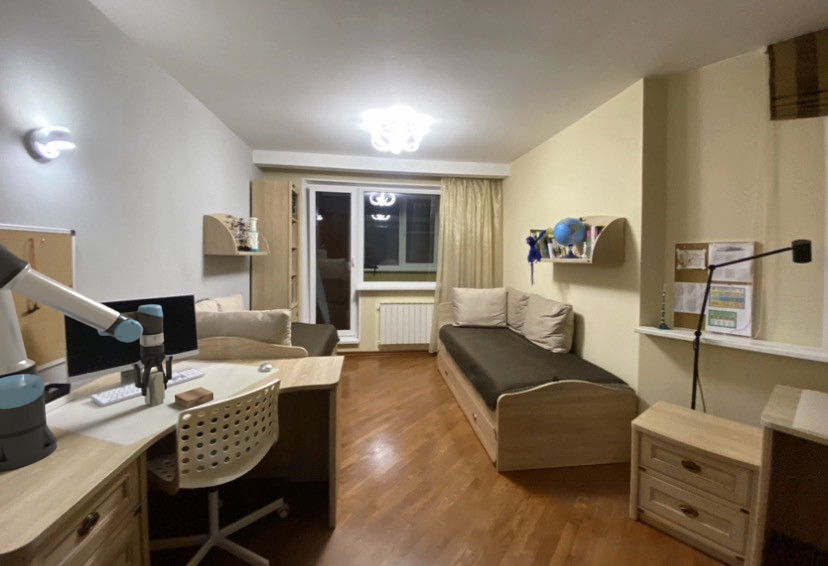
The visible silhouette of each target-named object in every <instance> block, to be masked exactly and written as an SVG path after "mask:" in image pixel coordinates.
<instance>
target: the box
mask: <svg viewBox="0 0 828 566" xmlns="http://www.w3.org/2000/svg"><path fill="white" fill-rule="evenodd" d="M147 387H149V391H150V404H147V403H145V404H146V405H148V406H151V407H155V406H158V405H161V404H163V403H164V400H165V399H164V398H163V372H160V371H158V370H157V369H156V370H151V371H150V375H149V379H148V384H147Z"/></svg>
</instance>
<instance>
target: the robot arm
mask: <svg viewBox="0 0 828 566" xmlns="http://www.w3.org/2000/svg"><path fill="white" fill-rule="evenodd" d="M12 292H13V293H15V294H18V295H21V296H22V297H25V298H27V299H30V300H32V301H34V302H35V303H37V304H40V305H43V306H45V307H47V308H49V309H52V310H54V311H55V312H59V313H60V314H63V315H65V316H67V317H69V318H72V319H74V320H75V321H78V322H80V323H83V324H85V325H87V326H90V327H92V328H94V329H96V330H97V333H98V335H99V336H111V337H113V338H115V339H116V340H118V341H120V342H122V343H132V342H135V341H137V340H138V339H139V345H140V350H139V351H140V358H139V360H137V361H136V362H132V363H131V366H132V368H133V376H134V377H133V379H134V387H135V388H137V389H141V396H142V397H144V403H145V404H146V403H147V404H146V405H148V404H150V391H149V387H147V384H148V379H149V375H150V372H151V371H152V369H153V368H154V367H156V370H158V371H160V372H163V398H164V400H166V393H165V392H166V391H167V389H168V383H169V381H172V379H173V367H172V366H173V365H172V363H173V362H172V361H173V359H174V356H173V355H171V354H168V355H167V354H166V353H165V344H164V341H165V339H164V313H163V308H162V305H160V304H152V303H151V304H143V305H139V306H138V309H137V311H131V312H119V311H117V310H115V309H113V308H111V307H109V306H107V305H105V304H103V303H101V302H100V301H97V300H95V299H93V298H92V297H90V296H87V295H86V294H84V293H82V292H79V291H77V290H76V289H74V288H71V287H70V286H67V285H65V284H63V283H61V282H59V281H58V280H56V279H54V278H51V277H49V276H48V275H46V274H43V273H42V272H39V271H38V270H35V269H34V268H32V265H31V263H30V262H28V261H26V260H24V259H22V258H21V257H20V256H17V255H15V254H14V253H13V252H11V251H10V250H9V249H8V248H7V246H5V245H4V244H3V243H1V242H0V472H6V471H11V470H15V469H18V468H21V467H25V466H28V465H31V464H33V463H36V462H38V461H40V460H43V459H44V458H46V457H48V456H49V455H51V454H52V453H54V451H55V450H56V449H57V447H58V444H57V439H56V436H55V435H54V434H53V432H52V430H51V429H50V427H49V426H48V424H47V413H46V412H47V409H46V401H45V400H46V398H45V397H46V396H45V388H46V386H45V383H44V380H43V378H42V377H41V376H39V372H38V368H37V364H36V361H34V360H32V359H29V358H28V356H27V352H26V347H25V343H24V339H23V336H22V331H21V328H20V322H19V317H18V315H17V311H16V307H15V306H16V305H15V302H14V298H13V294H12ZM164 360H165V370H164V366H163V364H162V363H163V362H164ZM141 364H142V365H143V372H142V374H141V366H142V365H141ZM141 375H142V376H141Z"/></svg>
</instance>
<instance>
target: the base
mask: <svg viewBox="0 0 828 566" xmlns="http://www.w3.org/2000/svg"><path fill="white" fill-rule="evenodd" d="M213 400H214V392H212V391H211V390H208V389H206V388H204V387H201V386H199V387H196V388H193V389H189V390H186V391H183V392H180V393H176V394H174V402H175V403H176V404H178V405H180V406H182V407H184V408H186V409H190V408H193V407H197V406H199V405H201V404H202V405H203V404H205V403H208V402H211V401H213Z"/></svg>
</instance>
